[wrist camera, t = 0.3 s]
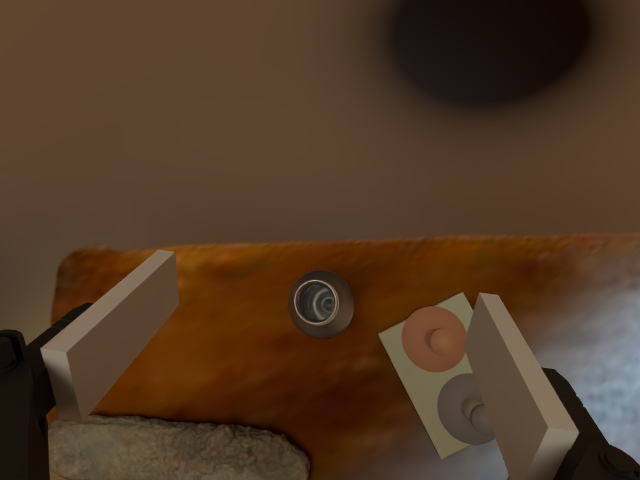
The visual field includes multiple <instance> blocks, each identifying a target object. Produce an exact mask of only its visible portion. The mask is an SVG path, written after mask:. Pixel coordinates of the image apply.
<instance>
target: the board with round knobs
mask: <svg viewBox="0 0 640 480" xmlns="http://www.w3.org/2000/svg"><path fill="white" fill-rule="evenodd" d="M473 312H474V311H473V310H472V308H471V306H470V304H469V303H468V301H467V299H466V297H465V296H464V294H463V292H460V293H458V294H456V295H454V296H452V297H450V298H448V299H446V300H444V301H442V302H440V303H438V304H436V305H434V306H429V307H424V308H421V309H419V310H417V311H415V312H414V313H413V314H411V315H410V316H409V318H408V319H406V320H404V321H402V322H400V323H398V324H396V325H394V326H392V327H390V328H388V329H386V330H384V331H382V332H380V333H378V336H379V338H380V340H381V342H382V344H383V346H384V348H385V350H386V351H387V353H388V355H389V357H390V359H391V361H392V363H393V365H394V367H395V369H396V371H397V373H398V375H399V377H400V379H401V381H402V383H403V385H404V387H405V389H406V391H407V393H408V395H409V397H410V399H411V401H412V403H413V405H414V407H415V409H416V411H417V413H418V415H419V417H420V419H421V421H422V423H423V425H424V427H425V429H426V431H427V433H428V435H429V437H430V439H431V441H432V443H433V445H434V447H435V449H436V451H437V453H438V454H439V456H440V458H441V459H443V458H445V457H447V456H449V455H451V454H453V453H455V452H457V451H459V450H461V449H463V448H465V447H467V446H469V445H471V444H472V445H478V444H484V443H487V442H489V441H491V440H493V439H494V438H495V434H494V431H493V428H492V425H491V422H490V420H489V417H488V414H487V411H486V408H485V406H484V403H483V400H482V397H481V394H480V391H479V389H478V386H477V383H476V380H475V377H474V374H473V372H472V369H471V366H470V363H469V360H468V357H467V355H466V352H465V349H464V346H463V345H464V341H465V338H466V335H467V331H468V328H469V325H470V321H471V318H472V315H473Z"/></svg>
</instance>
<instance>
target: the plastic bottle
mask: <svg viewBox="0 0 640 480" xmlns="http://www.w3.org/2000/svg"><path fill="white" fill-rule="evenodd" d="M288 310H289V314H290V317H291V319H292V321H293V323H294V324H295V326H296V327H297V328H298V329H299V330H300V331H301V332H302V333H304V334H306V335H307V336H309V337H312V338H315V339H329V338H332V337H335V336H337V335H338V334H340V333H341V332H343V331H344V330H345V329H346V328H347V326H348V325H349V323H350V321H351V319H352V317H353V313H354V298H353V294H352V291H351V289H350V287H349V286H348V284H347V283H346V282H345V281H344V279H342V278H341V277H340V276H339V275H337V274H335V273H333V272H331V271H327V270H313V271H310V272H307V273H305V274H304V275H302V276H301V277H300V278H298V279H297V280H296V282H295V283H294V284H293V286H292V288H291V290H290V293H289V297H288Z"/></svg>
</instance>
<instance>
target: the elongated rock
mask: <svg viewBox="0 0 640 480" xmlns="http://www.w3.org/2000/svg"><path fill="white" fill-rule="evenodd" d="M51 427H52V428H50V429H48V444H49V469H50V470H51V471H53V472H54V473H56V474H58V475H59V476H60V477H63V478H65V479H67V480H308V477H309V475H310V474H309V470H310V461H309V459H308V457H307V456H306V453H305V452H303V451H301V450H300V449H299V448H298V447H297V446H294V445H293V444H290V442H289V441H288V440H287V437H286V436H285V435H284V434H281V435H279V434H274V433H272V432H271V431H269V430H258V429H254V428H252V427H250V426H248V427H243V426H241V425H236V426H235V425H233V424H231V425H225V424H221V425H215V424H213V423H208V422H207V423H200V424H197V423H194V422H191V423H187V422H169V421H166V420H160V419H155V418H152V419H145V418H142V417H141V416H139V415H138V416H121V415H120V416H113V417H109V416H103V415H89V416H87V418H86V419H85V420H84V421H83V423H80V422H75V421H69V420H63V419H58V420H56V421H54V422H53V423H52V426H51Z"/></svg>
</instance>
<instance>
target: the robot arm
mask: <svg viewBox="0 0 640 480" xmlns="http://www.w3.org/2000/svg"><path fill="white" fill-rule="evenodd" d="M178 305H179V298H178V285H177V271H176V258H175V252H171V251H163V250H158V251H156V252H155V253H154V254H153V255H152V256H150V257H149V258H148V259H147V260H146V261H144V262H143V263H142V264H141V265H140V266H138V267H137V268H136V269H135V270H134V271H132V272H131V273H130V274H129V275H128V276H126V277H125V278H124V279H123V280H122V281H120V282H119V283H118V284H117V285H116V286H115V287H113V288H112V289H111V290H110V291H109V292H107V293H106V294H105V295H104V296H103V297H101V298H100V299H99V300H98V301H97V302H95V303H85V304H83V305H81V306H79V307H77V308H75V309H72V310H71V311H70V312H69V313H67V314H66V315H65V316H64V317H62V318H61V320H59V321H57V322H56V323H55V324H53V325H52V327H51V328H48V329H47V330H46V331H45V332H44V333H42V334H41V335H40V336H39V337H37V338H36V339H35V340H33V341H32V342H31V343H30V344H29V345H27V346H26V344H25V341H24V337H23V335H22V333H21V332H19V331H17V330H0V480H50V475H49V444H48V422H47V418H46V414H47V413H48V412H49V411H50V410H51V409H52V408H53V407H54V406H56V409H57V413H58V417H59V419H63V420H69V421H75V422H80V423H83V421H84V420H85V419H86V418H87V416H88V415H89V414H90V413H91V412H92V410H93V409H94V408H95V407H96V406H97V404H98V403H99V402H100V401H101V399H102V398H103V397H104V396H105V395H106V393H107V392H108V391H109V390H110V388H111V387H112V386H113V385H114V384H115V382H116V381H117V380H118V379H119V377H120V376H121V375H122V374H123V373H124V371H125V370H126V369H127V368H128V366H129V365H130V364H131V363H132V362H133V360H134V359H135V358H136V357H137V355H138V354H139V353H140V352H141V351H142V349H143V348H144V347H145V346H146V344H147V343H148V342H149V341H150V340H151V338H152V337H153V336H154V335H155V333H156V332H157V331H158V330H159V329H160V327H161V326H162V325H163V324H164V322H165V321H166V320H167V319H168V318H169V316H170V315H171V314H172V313H173V311H174V310H175V309H176V308H177V307H178ZM463 346H464V349H465V352H466V355H467V357H468V360H469V363H470V366H471V369H472V372H473V374H474V377H475V380H476V383H477V386H478V389H479V391H480V394H481V397H482V400H483V403H484V406H485V408H486V411H487V414H488V417H489V420H490V422H491V425H492V428H493V431H494V434H495V437H496V439H497V442H498V445H499V448H500V451H501V454H502V456H503V459H504V462H505V465H506V468H507V471H508V473H509V476H510V479H511V480H640V465H639V464H638V463H637V462H636V461H635V460H634V459H633V458H632V457H630V456H629V455H628V454H626V453H625V452H623V451H622V450H620V449H618V448H616V447H614V446H612V445H609V443H608V442H607V440H606V439H605V437H604V436H603V434H602V433H601V431H600V430H599V428H598V427H597V425H596V424H595V422H594V421H593V419H592V417H591V416H590V414H589V413H588V411H587V410H586V408H585V407H583V404H582V402H581V401H580V399H579V398H578V397H577V396H576V393H575V391H574V390H573V388H572V387H571V385H570V384H569V382H568V381H567V380H566V379H565V378H564V377H562V376H561V375H560V374H559V373H558V372H557V371H556V370H555V369H549V368H542V367H540V365H539V363H538V362H537V360H536V358H535V357H534V355H533V353H532V352H531V350H530V348H529V347H528V345H527V343H526V341H525V340H524V338H523V336H522V335H521V333H520V331H519V330H518V328H517V326H516V325H515V323H514V321H513V320H512V318H511V316H510V314H509V313H508V311H507V309H506V308H505V306H504V304H503V303H502V301H501V299H500V298H499V296H498V295H493V294H486V293H479V295H478V298H477V302H476V305H475V308H474V312H473V315H472V318H471V321H470V325H469V328H468V331H467V335H466V338H465V341H464V345H463Z"/></svg>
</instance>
